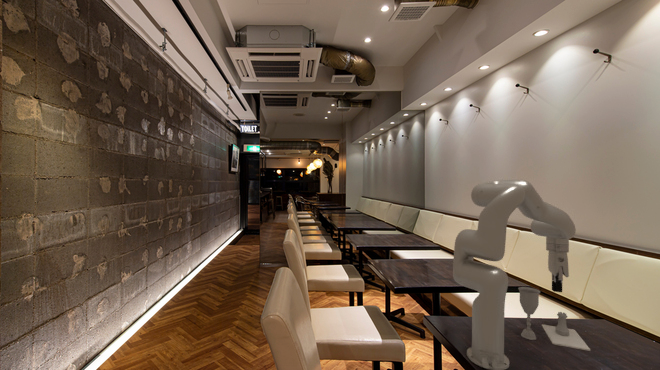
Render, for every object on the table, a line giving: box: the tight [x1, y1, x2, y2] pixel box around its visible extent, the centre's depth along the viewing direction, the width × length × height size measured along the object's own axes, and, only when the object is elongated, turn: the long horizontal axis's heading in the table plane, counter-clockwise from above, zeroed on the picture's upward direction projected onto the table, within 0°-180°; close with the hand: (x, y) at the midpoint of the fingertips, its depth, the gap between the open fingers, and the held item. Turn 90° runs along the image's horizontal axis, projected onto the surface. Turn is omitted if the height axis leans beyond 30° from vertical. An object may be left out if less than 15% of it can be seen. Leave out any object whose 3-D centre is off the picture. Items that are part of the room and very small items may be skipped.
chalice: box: [517, 286, 541, 341], centre depth 115 cm, size 7×7×18 cm
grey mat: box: [541, 323, 591, 352], centre depth 115 cm, size 16×11×1 cm
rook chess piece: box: [555, 311, 569, 336], centre depth 117 cm, size 4×4×8 cm
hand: (556, 291), depth 124 cm, fingers closed
